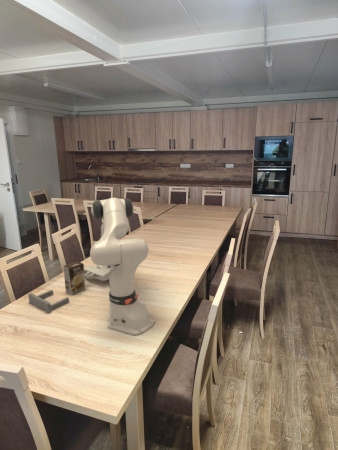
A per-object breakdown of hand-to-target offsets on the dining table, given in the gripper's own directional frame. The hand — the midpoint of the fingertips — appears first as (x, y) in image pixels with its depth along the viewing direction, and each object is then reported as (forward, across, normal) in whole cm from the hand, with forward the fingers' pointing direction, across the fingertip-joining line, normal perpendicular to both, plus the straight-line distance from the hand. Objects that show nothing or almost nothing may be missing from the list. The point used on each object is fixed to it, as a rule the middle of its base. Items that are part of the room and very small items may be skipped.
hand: (85, 277), depth 171 cm
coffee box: (+7, 0, +6) cm, 9 cm away
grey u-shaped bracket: (+23, 0, +6) cm, 24 cm away
